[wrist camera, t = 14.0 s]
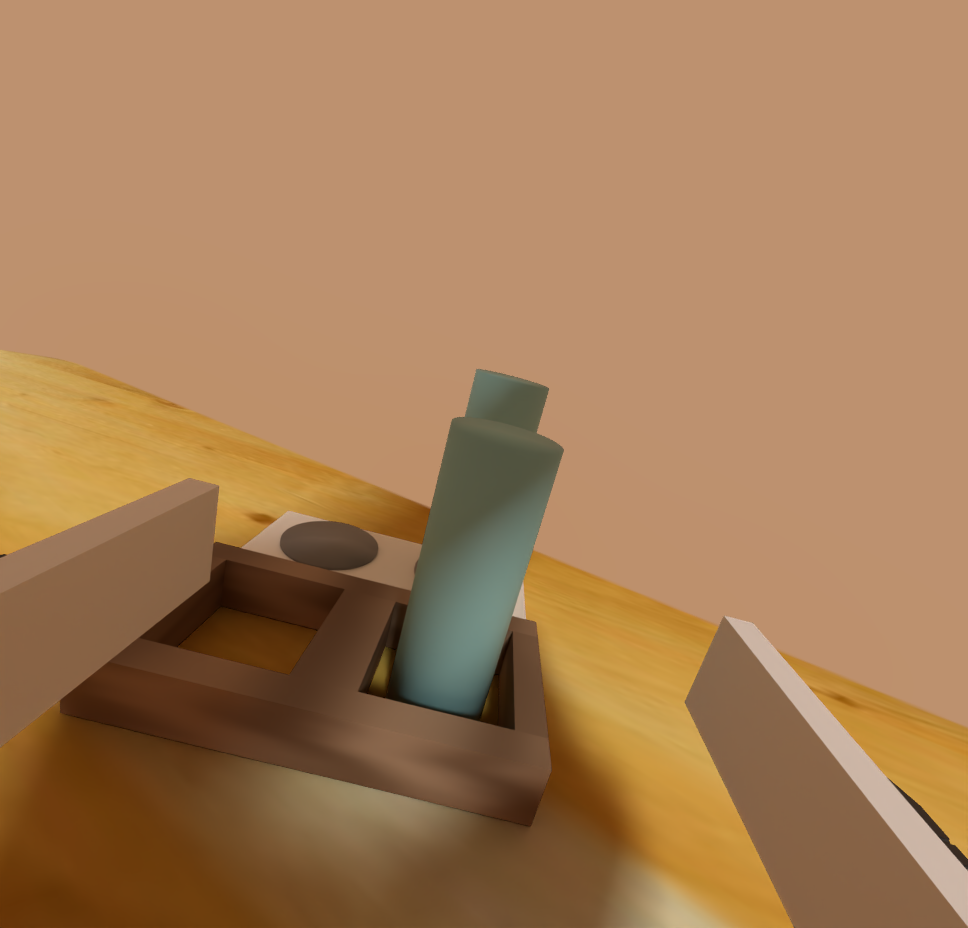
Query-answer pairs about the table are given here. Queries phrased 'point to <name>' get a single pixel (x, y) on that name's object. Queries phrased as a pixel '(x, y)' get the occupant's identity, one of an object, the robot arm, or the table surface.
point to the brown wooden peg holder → (327, 693)
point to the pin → (506, 400)
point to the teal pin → (472, 564)
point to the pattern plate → (346, 551)
